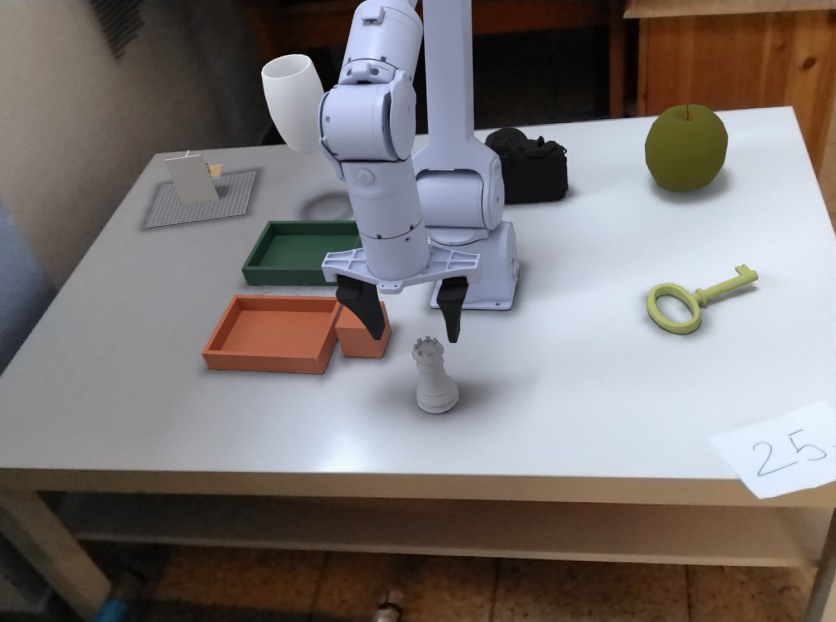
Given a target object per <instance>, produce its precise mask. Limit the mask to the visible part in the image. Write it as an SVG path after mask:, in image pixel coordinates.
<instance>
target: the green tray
mask: <svg viewBox="0 0 836 622" xmlns="http://www.w3.org/2000/svg"><path fill="white" fill-rule="evenodd" d="M359 248H363V245H362V241H361V238H360V234H359V230H358V226H357V223H356V220H355V219H354V220H352V219H351V220H349V219H347V220H342V219H339V220H338V219H337V220H335V219H334V220H327V219H326V220H268V221H267V223H266V225H265V227H264V228H263V229H262V231H261V234H260V235H259V237H258V239H257V241H255V244H254V246H253V248H252V250H251V251H250V253H249V255H248V257H247V258H246V260H245V262H244V263H243V265H242V267H241V269H240V270H241V272H242V275H243V277H244V279H245V282H246V284H247V285H260V286H261V285H263V286H264V285H267V286H268V285H269V286H270V285H271V286H321V287H322V286H324V287H325V286H329V287H330V286H331V287H338V281H336V282H326V279H325V276H324V273H323V270H322V267H321V265H322V263H323V261H324V259H325V257H326V255H327V253H336V252H344V251H349V250H354V249H359Z"/></svg>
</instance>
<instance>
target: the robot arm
mask: <svg viewBox="0 0 836 622" xmlns="http://www.w3.org/2000/svg"><path fill="white" fill-rule="evenodd" d="M417 3H418V0H364V1H362V2H361V3H359V5H358V6H357V7H356V9H355V11H354V14H353V17H352V21H351V27H350V29H349V30H350V31H349V36H348V39H347V44H346V48H345V53H344V57H343V61H342V66H341V70H340V73H339V78H338V82H337V83H336V84H335V85H333V88H331V89H330V90H329V91H326V92H324V95H323V97H322V99H321V101H320V105H319V110H318V129H319V135H320V140H319V143H320V146H321V148H320V150H321V151H322V153H323V154H324V157H325V158H326V159H327V160H328V161H329V162H331V164H332V166H333V168H334V171H335V175H336V178H337V179H338V180H339V181H342V182H345V186H346V190H347V194H348V197H349V201H350V205H351V209H352V212H353V216H354V220H356V223H357V226H358V230H359V234H360V238H361V241H362V245H363V248H359V249H354V250H349V251H344V252H336V253H327V255H326V257H325V259H324V261H323V263H322V265H321V267H322V270H323V273H324V276H325V279H326V282H336V281H338V286H337V288H336V291H335V293H334V294H335V297H336V298H337V300H338V302H339V303H341V304H342V305H344V306H345V307H347V308H348V309H349V310H351V311H352V312H353V313H354V314H355V315H356V316H357V317H358V318H359V319H360V321H361V322H362V323H363V324H364V326H365V327H366V328H367V330H368V331H369V333H370V334H371V336H372V337H373V339H374V340H381V337H382V334H383V332H384V329H385V320H384V315H383V311H382V308H381V304H380V301H381V300H380V298H379V293H380V294H381V295H400V294H401V293H402V292H403V290H404V288H407V287H411V286H416V285H421V284H426V283H430V282H435V281H436V283H435V288H434V291H433V293H432V296H431V299H430V303H429V305H430V307H431V309H432V308H433V309H440V311H441V313H442V317H443V319H444V323H445V329H446V330H445V331H446V336H447V340H448V342H449V344H457V343H458V341H459V337H460V334H461V330H462V329H461V321H462V320H461V318H462V310H464V309H465V310H503V311H505V310H510V309H511V308H512V305H513V301H514V295H515V291H516V287H517V282H518V279H519V273H520V269H521V266H520V265H521V264H520V263H519V258H518V249H517V248H518V247H517V238H516V232H515V231H516V230H515V225H514V223H513V222H512V221H510V220H509V221H508V220H502V218H503V215H504V209H505V205H504V183H503V179H502V173H501V161H500V160H499V156H498V155H497V154H496V153H495V152H494V151H493V150H491V149H490V148H489V147H488V146H486V145H485V144H484V143H485V142H482V141H481V140H480V139H479V138H477V136H476V135H475V113H474V112H475V111H474V110H475V109H474V69H473V67H474V65H473V27H472V26H473V23H472V22H473V19H472V17H473V16H472V0H422V16H423V17H422V18H423V22H422V19H421V18H420V16H419V15H418V13H417V12H416V10H415V9H416V6H417ZM423 37H424V59H425V60H424V63H425V81H426V82H425V83H426V86H425V87H426V107H427V129H428V130H427V131H428V132H427V133H428V141H427V142H426V143H425V144H424V145H423V146H421V147H420V148H419V149H418V150H417V151H416V152H414V153H413V155H412V154H411V153H412V150H413V147H414V143H415V140H416V127H417V125H416V124H417V122H416V104H417V93H416V91H415V88H414V86H413V83H414V78H415V73H416V70H417V65H418V60H419V54H420V50H421V45H422V39H423ZM454 169H471V170H454Z"/></svg>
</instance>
